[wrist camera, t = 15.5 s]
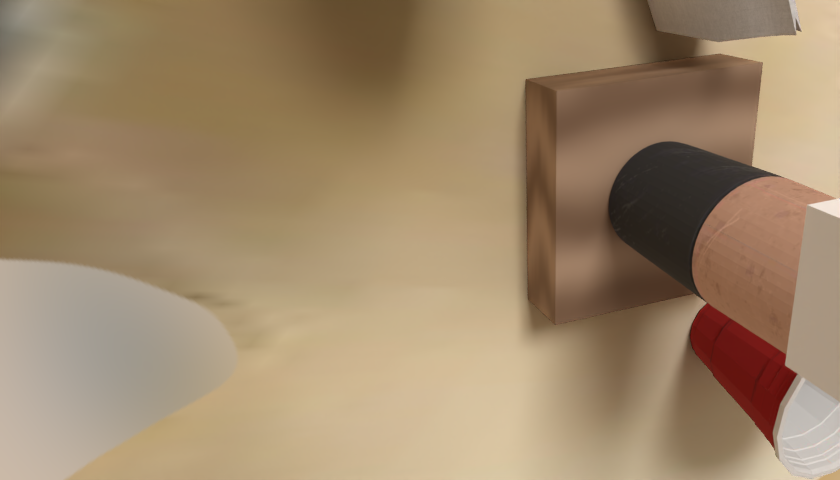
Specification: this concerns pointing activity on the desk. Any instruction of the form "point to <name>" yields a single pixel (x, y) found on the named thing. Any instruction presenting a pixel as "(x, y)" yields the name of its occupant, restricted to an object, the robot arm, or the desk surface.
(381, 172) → the desk surface
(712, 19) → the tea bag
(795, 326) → the robot arm
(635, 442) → the desk surface
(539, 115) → the walnut stand
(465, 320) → the desk surface
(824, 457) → the plastic cup
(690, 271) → the travel mug
